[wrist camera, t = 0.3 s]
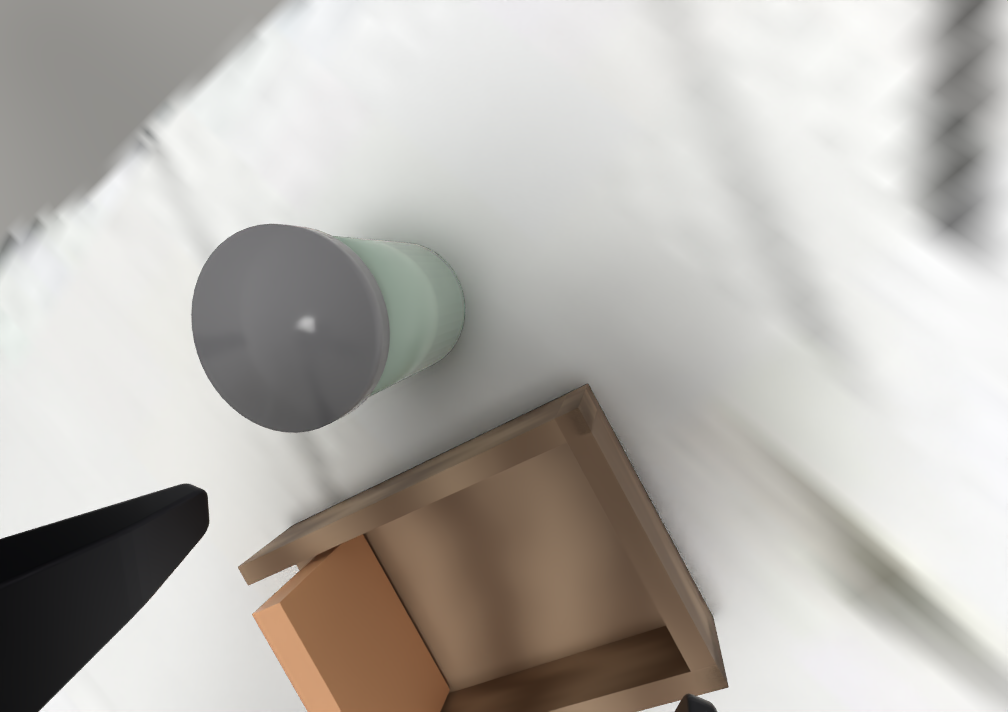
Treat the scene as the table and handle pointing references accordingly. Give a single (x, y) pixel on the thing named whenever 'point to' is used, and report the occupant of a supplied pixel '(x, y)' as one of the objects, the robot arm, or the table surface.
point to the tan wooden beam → (350, 638)
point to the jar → (319, 321)
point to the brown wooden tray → (531, 569)
